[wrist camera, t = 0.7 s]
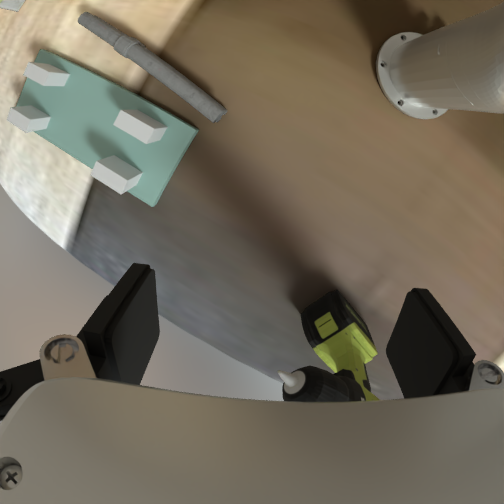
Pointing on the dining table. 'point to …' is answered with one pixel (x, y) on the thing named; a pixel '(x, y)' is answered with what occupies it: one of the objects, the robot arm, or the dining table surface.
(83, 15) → the metal rod assembly
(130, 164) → the jaw cradle
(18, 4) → the light bulb box
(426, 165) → the dining table surface
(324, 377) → the cordless drill
